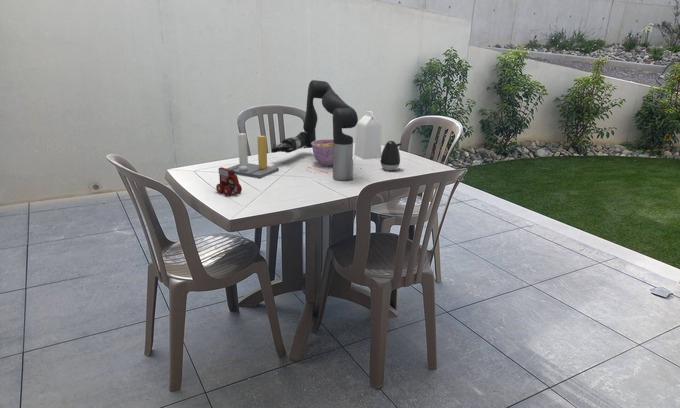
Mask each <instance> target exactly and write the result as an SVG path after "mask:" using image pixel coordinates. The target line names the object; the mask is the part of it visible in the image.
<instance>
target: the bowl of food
mask: <svg viewBox="0 0 680 408" xmlns="http://www.w3.org/2000/svg"><path fill="white" fill-rule="evenodd" d="M311 144H312V147H311V148H312V153H313V156H314V158H315V160H316V162H318V163H319V164H321V165H323V166H326V167H333V139H318V140H317V139H316V141H313V142H311Z"/></svg>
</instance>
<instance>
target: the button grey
mask: <svg viewBox="0 0 680 408" xmlns="http://www.w3.org/2000/svg"><path fill="white" fill-rule="evenodd" d="M239 171H240V172H246V171H248V169H247V166H239Z"/></svg>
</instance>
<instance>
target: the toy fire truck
mask: <svg viewBox="0 0 680 408" xmlns="http://www.w3.org/2000/svg"><path fill="white" fill-rule="evenodd" d="M218 174H219V177H218V178H219V183H217V184H216V186H215V189H216V191H217V192H218V193H219V194H223V193H224V195H225V196H227V197H229V196H231V195H232V193H236V194H239V193H241V192H242V190H243V189H242V185H241V184H240V181H239V178H238V176H237V174H235V171H234V170H229V169H226V168H225V167H224V166H223V167H222V166H221V167H219V168H218Z"/></svg>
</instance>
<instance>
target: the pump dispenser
mask: <svg viewBox="0 0 680 408" xmlns="http://www.w3.org/2000/svg"><path fill="white" fill-rule="evenodd" d="M399 146H402V142H400V143H396V142H395V141H394V140H388V141H387V142H386V143H385V145H384V147H383V149H382V150H381V158H380V167H382V169H383V170H384V171H387V170H394V171H396V170H397V169H399V166H400V165H401V156H400V151H399Z"/></svg>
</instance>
